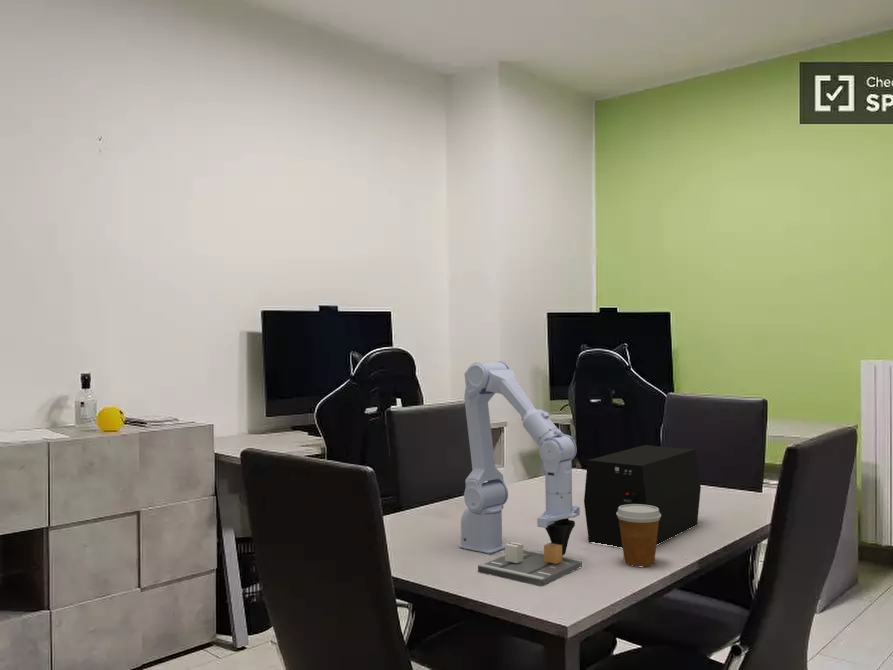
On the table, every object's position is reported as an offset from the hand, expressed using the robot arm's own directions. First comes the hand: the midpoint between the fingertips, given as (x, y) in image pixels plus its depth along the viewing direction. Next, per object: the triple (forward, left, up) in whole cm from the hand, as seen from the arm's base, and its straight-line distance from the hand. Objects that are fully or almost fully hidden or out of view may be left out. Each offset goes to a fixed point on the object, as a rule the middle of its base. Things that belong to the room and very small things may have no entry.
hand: (559, 554), depth 167 cm
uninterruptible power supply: (+3, +35, -3) cm, 36 cm away
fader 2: (0, -3, -1) cm, 3 cm away
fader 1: (-7, -7, -1) cm, 10 cm away
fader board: (-3, -6, -2) cm, 8 cm away
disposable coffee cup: (+13, +12, -3) cm, 18 cm away
